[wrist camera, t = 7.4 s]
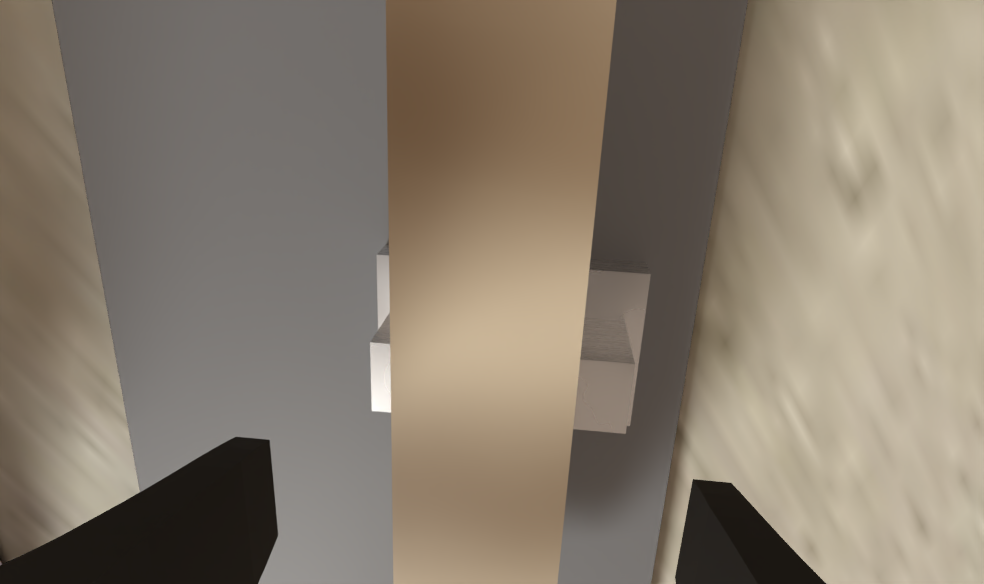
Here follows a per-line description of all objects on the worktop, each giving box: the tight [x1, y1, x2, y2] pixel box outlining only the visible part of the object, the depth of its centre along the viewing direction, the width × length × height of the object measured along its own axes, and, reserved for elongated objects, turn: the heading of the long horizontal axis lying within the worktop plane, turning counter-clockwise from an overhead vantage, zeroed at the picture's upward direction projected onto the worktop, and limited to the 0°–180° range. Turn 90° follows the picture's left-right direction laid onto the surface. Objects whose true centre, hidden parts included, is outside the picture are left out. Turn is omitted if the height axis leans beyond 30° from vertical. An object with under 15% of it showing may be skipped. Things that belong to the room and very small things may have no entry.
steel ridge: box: [370, 244, 651, 434], centre depth 16 cm, size 4×7×4 cm, turn 88°
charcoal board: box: [52, 0, 748, 584], centre depth 19 cm, size 21×17×1 cm
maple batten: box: [386, 0, 617, 584], centre depth 13 cm, size 20×3×4 cm, turn 178°
